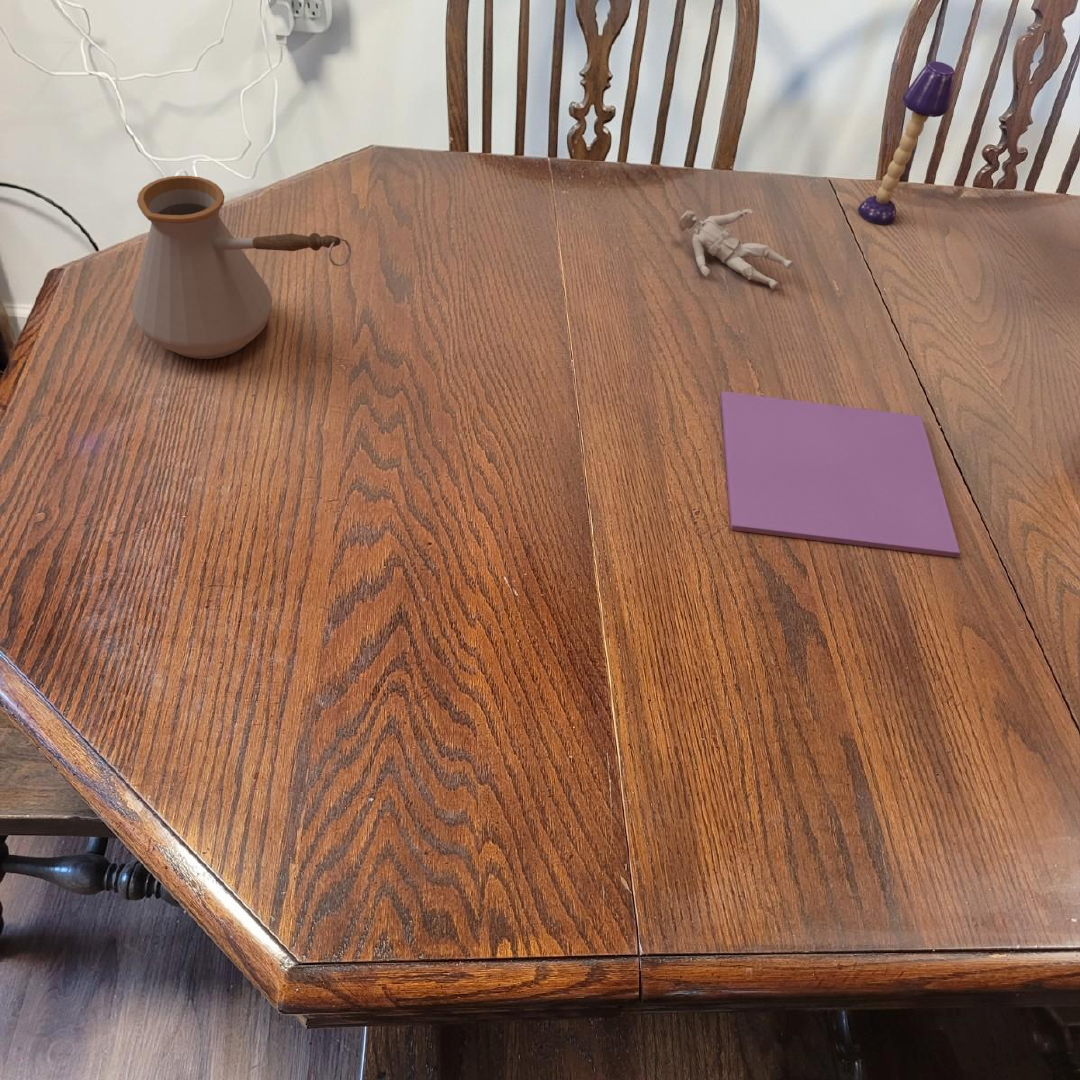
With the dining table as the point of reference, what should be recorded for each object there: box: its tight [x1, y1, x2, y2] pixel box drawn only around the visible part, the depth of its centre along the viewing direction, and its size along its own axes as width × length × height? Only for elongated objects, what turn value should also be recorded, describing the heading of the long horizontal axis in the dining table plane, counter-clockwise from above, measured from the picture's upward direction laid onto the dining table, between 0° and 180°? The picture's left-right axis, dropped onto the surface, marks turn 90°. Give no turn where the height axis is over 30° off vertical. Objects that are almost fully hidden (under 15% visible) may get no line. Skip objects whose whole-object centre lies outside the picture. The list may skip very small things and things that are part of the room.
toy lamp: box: [858, 61, 956, 226], centre depth 101 cm, size 5×5×17 cm
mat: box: [720, 390, 961, 558], centre depth 78 cm, size 18×16×1 cm
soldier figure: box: [678, 208, 795, 290], centre depth 96 cm, size 8×5×12 cm
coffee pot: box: [131, 175, 352, 360], centre depth 76 cm, size 21×12×15 cm, turn 61°
